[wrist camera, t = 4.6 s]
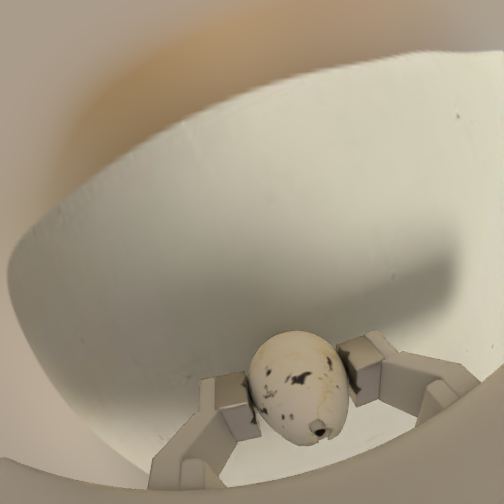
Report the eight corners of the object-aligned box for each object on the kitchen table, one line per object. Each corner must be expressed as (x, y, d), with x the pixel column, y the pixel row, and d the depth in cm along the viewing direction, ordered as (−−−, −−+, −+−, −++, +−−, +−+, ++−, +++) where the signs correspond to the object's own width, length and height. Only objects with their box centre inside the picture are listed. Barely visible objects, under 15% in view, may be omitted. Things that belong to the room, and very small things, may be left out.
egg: (241, 378, 10) (255, 482, 6) (246, 310, 10) (268, 418, 5) (315, 375, 11) (357, 465, 6) (330, 310, 10) (397, 397, 5)
